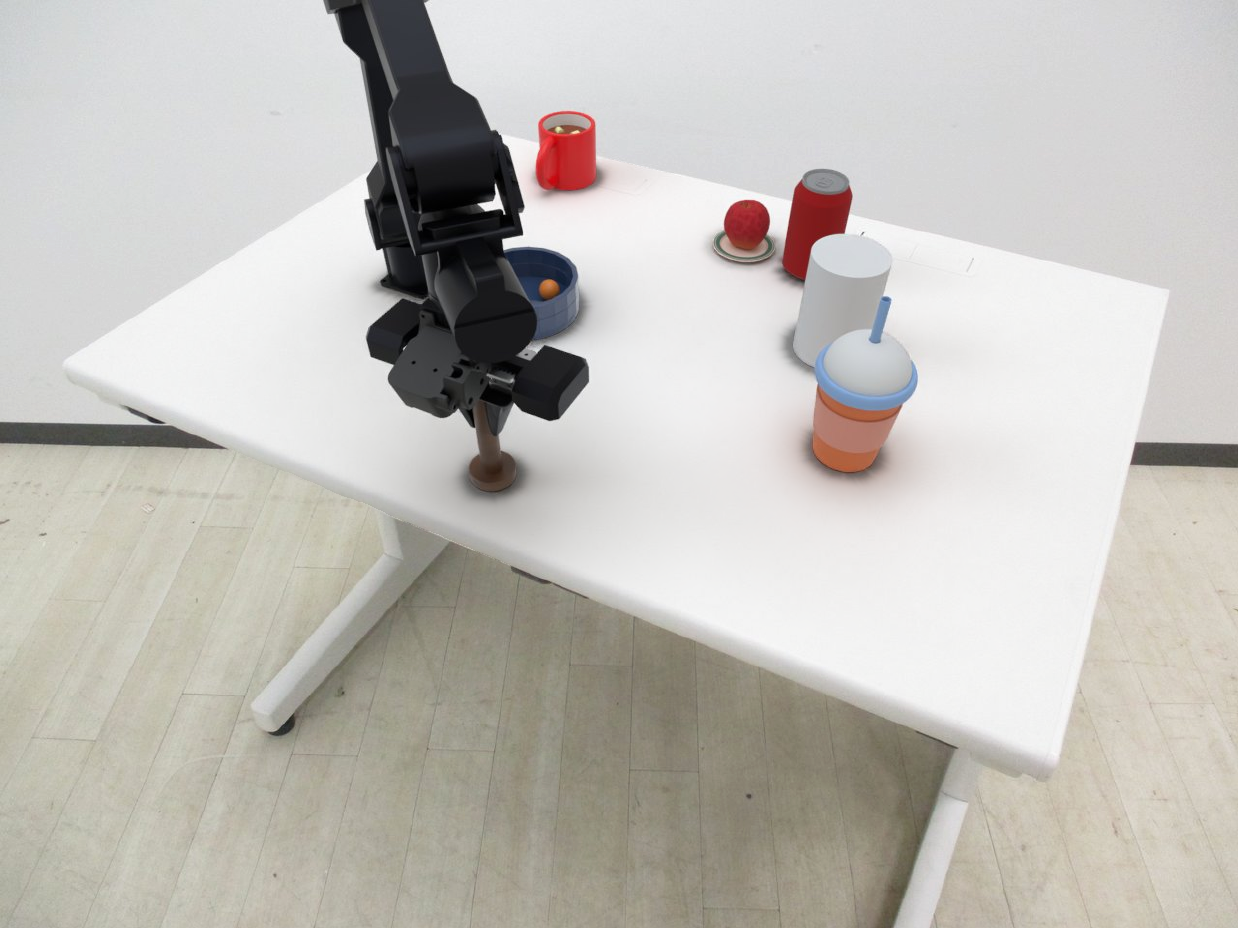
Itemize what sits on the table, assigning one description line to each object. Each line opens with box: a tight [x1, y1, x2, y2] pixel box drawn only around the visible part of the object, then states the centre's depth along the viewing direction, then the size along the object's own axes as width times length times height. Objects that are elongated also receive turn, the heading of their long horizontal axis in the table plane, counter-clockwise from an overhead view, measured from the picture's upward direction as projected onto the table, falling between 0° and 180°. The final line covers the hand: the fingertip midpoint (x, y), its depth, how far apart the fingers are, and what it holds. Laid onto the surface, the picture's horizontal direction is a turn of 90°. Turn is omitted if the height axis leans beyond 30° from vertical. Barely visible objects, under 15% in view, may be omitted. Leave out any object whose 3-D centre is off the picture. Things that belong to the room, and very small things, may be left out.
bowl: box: [503, 246, 580, 341], centre depth 98 cm, size 12×12×4 cm
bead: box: [539, 279, 560, 300], centre depth 99 cm, size 2×2×2 cm
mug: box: [535, 110, 597, 191], centre depth 117 cm, size 8×12×8 cm, turn 155°
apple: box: [712, 199, 776, 263], centre depth 106 cm, size 8×8×6 cm
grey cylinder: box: [792, 233, 893, 368], centre depth 90 cm, size 8×8×12 cm
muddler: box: [468, 376, 517, 492], centre depth 77 cm, size 4×4×12 cm
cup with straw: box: [812, 295, 919, 473], centre depth 77 cm, size 9×9×18 cm
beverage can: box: [782, 168, 853, 281], centre depth 101 cm, size 7×7×12 cm
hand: (486, 429), depth 77 cm, fingers closed on muddler, 2 cm apart
